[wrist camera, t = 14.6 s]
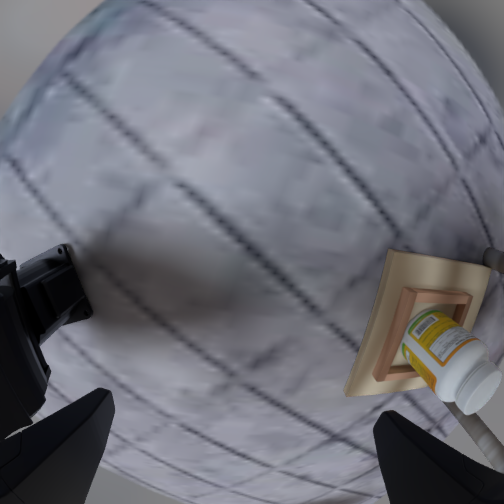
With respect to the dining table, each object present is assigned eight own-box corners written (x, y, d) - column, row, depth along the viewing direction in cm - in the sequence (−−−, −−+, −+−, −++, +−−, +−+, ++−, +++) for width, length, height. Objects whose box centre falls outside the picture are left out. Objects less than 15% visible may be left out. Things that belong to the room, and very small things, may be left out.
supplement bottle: (429, 357, 22) (483, 415, 12) (389, 358, 21) (443, 429, 12) (450, 308, 21) (517, 358, 11) (411, 304, 20) (485, 365, 11)
